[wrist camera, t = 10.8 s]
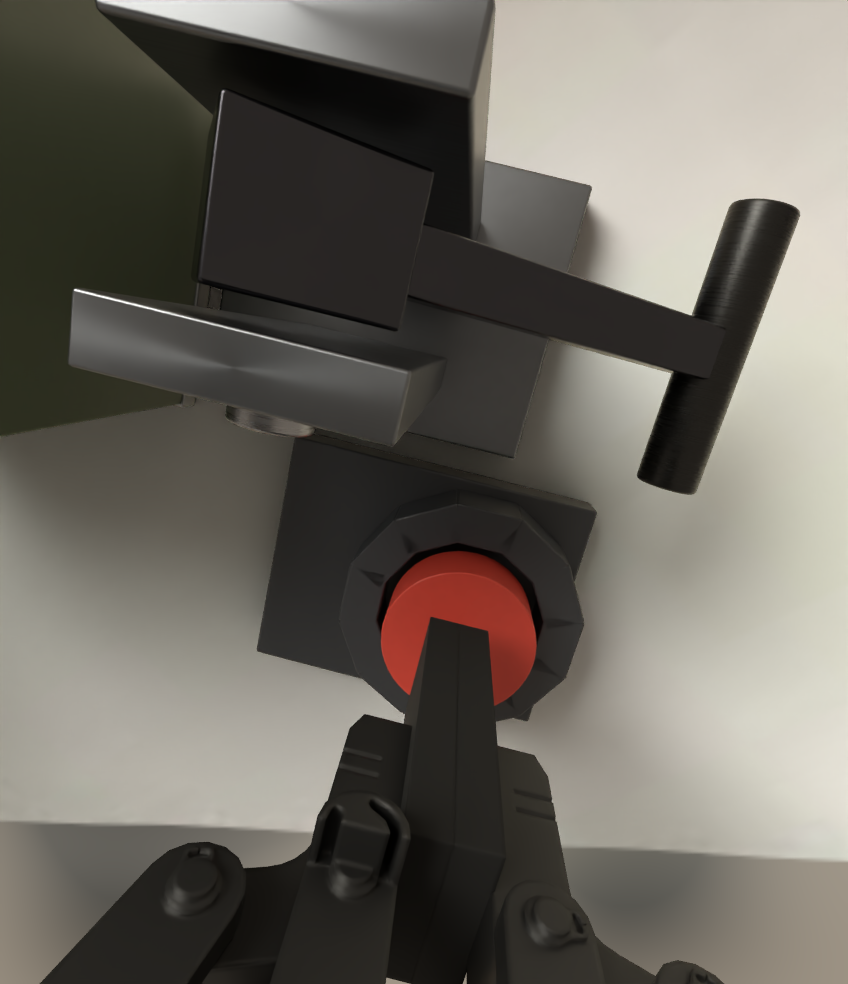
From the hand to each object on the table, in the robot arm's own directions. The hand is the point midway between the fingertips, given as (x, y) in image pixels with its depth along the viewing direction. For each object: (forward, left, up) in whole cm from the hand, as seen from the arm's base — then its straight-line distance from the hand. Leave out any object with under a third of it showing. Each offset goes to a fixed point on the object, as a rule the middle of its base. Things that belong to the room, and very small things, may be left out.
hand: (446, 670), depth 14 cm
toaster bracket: (-4, +9, -6) cm, 11 cm away
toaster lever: (-1, +9, +1) cm, 9 cm away
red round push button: (0, 0, -3) cm, 3 cm away
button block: (-1, 0, -6) cm, 6 cm away
